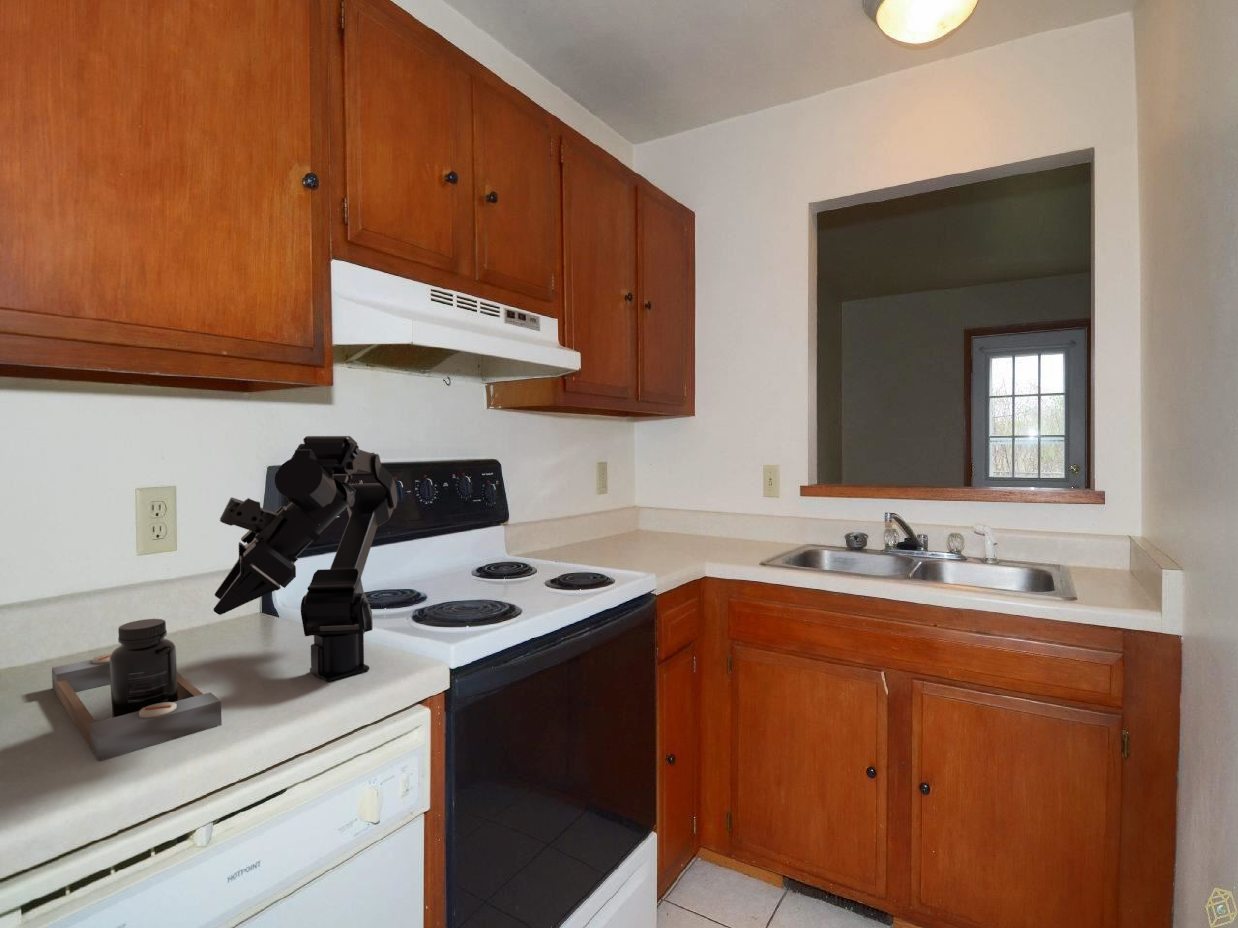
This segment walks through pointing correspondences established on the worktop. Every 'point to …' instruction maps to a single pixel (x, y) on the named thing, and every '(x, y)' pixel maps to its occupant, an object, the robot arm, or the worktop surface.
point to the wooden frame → (133, 727)
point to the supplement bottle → (142, 667)
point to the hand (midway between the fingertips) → (216, 604)
